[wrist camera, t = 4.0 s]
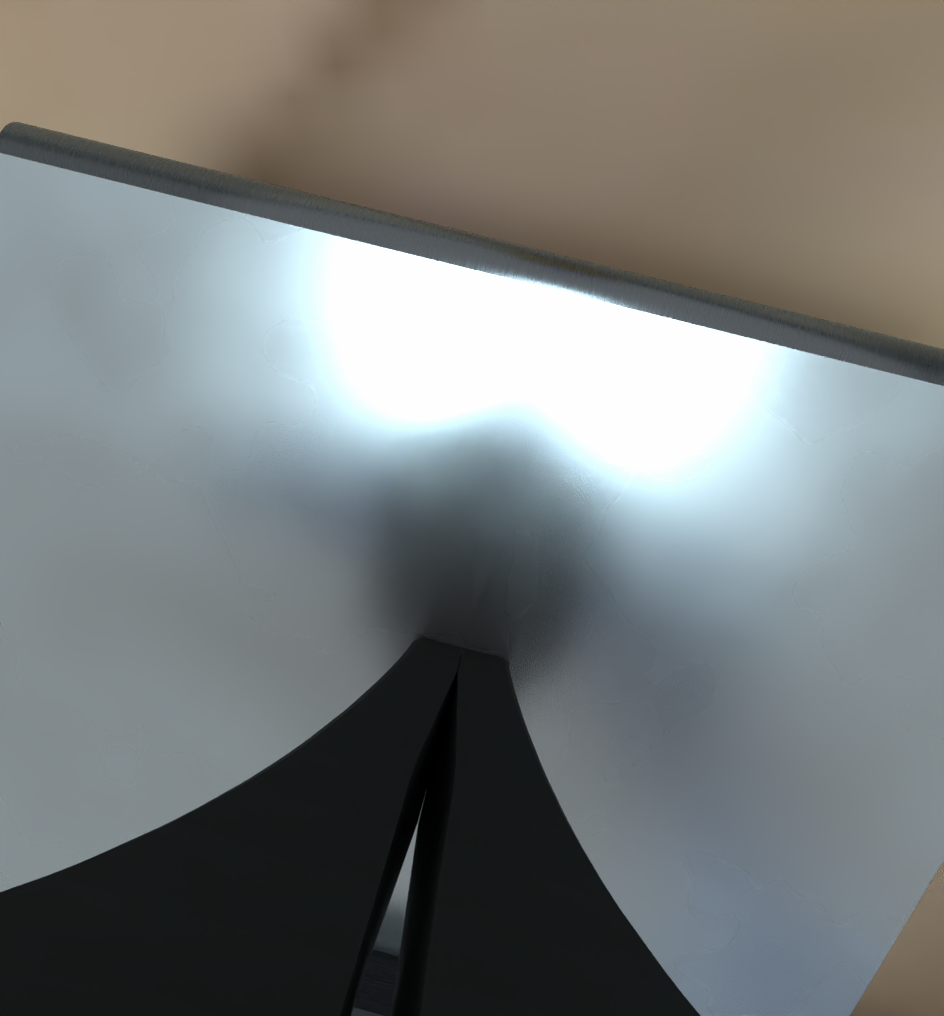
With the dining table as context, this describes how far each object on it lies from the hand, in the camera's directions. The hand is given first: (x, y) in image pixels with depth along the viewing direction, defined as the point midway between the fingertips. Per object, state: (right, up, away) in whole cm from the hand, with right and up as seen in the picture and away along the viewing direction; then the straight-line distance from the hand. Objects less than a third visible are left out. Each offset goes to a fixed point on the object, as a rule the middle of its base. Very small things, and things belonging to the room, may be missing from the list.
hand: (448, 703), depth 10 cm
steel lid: (0, 0, +1) cm, 1 cm away
